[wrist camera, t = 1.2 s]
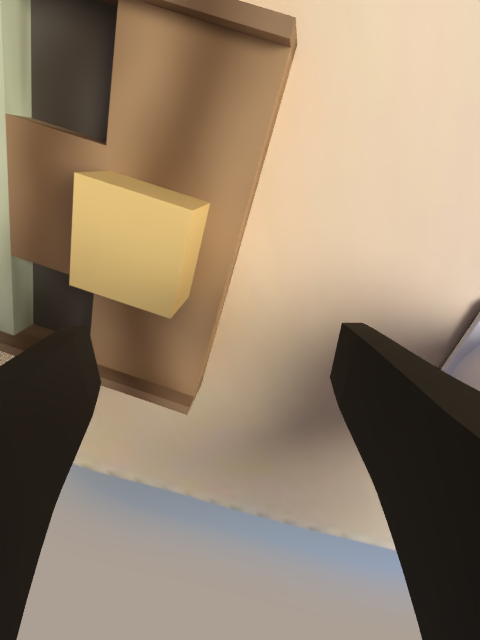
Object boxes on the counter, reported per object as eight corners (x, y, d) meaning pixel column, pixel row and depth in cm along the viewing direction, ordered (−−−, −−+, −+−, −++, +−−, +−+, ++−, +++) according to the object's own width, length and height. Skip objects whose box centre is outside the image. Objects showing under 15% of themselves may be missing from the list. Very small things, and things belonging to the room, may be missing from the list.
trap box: (297, 44, 14) (294, -1, 10) (200, 385, 23) (179, 432, 19) (-139, -89, 15) (-301, -181, 11) (-75, 291, 24) (-152, 318, 20)
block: (210, 202, 16) (192, 210, 13) (188, 297, 18) (170, 318, 16) (110, 170, 16) (74, 172, 13) (101, 268, 18) (69, 284, 16)
